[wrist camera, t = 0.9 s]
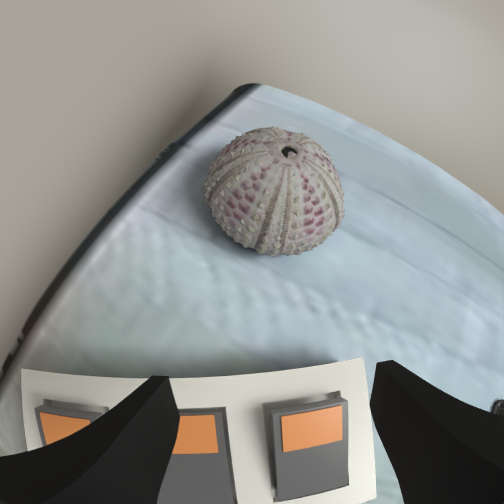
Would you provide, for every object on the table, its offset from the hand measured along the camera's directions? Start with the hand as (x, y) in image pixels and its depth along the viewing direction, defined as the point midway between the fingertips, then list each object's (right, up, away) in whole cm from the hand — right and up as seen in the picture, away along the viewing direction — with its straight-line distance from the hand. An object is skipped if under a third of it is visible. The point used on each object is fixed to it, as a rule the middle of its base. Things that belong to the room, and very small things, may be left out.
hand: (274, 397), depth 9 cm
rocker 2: (+3, -8, +7) cm, 12 cm away
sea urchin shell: (+1, +10, +21) cm, 23 cm away
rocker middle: (-5, -9, +6) cm, 12 cm away
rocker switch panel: (-5, -11, +10) cm, 16 cm away
